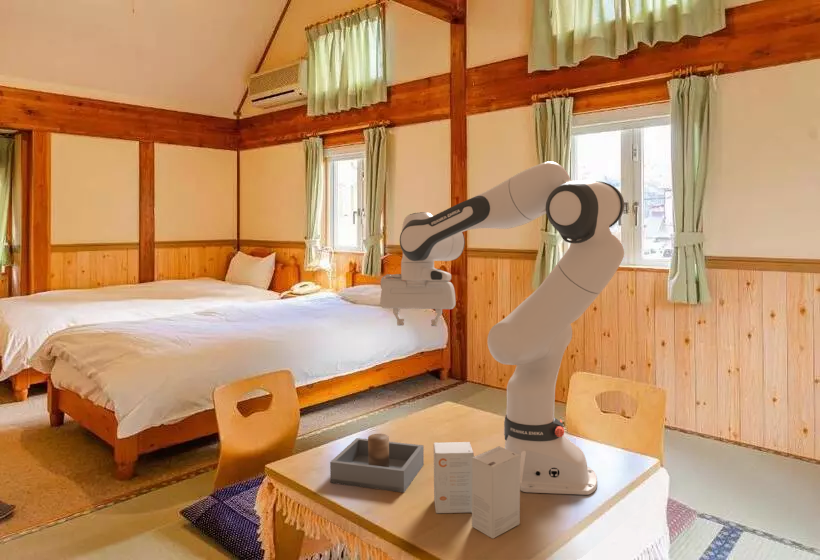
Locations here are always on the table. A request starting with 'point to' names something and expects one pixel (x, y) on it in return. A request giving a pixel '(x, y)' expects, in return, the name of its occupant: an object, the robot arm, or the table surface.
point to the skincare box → (495, 491)
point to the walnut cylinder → (378, 450)
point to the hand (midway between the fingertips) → (417, 325)
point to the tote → (357, 472)
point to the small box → (453, 477)
